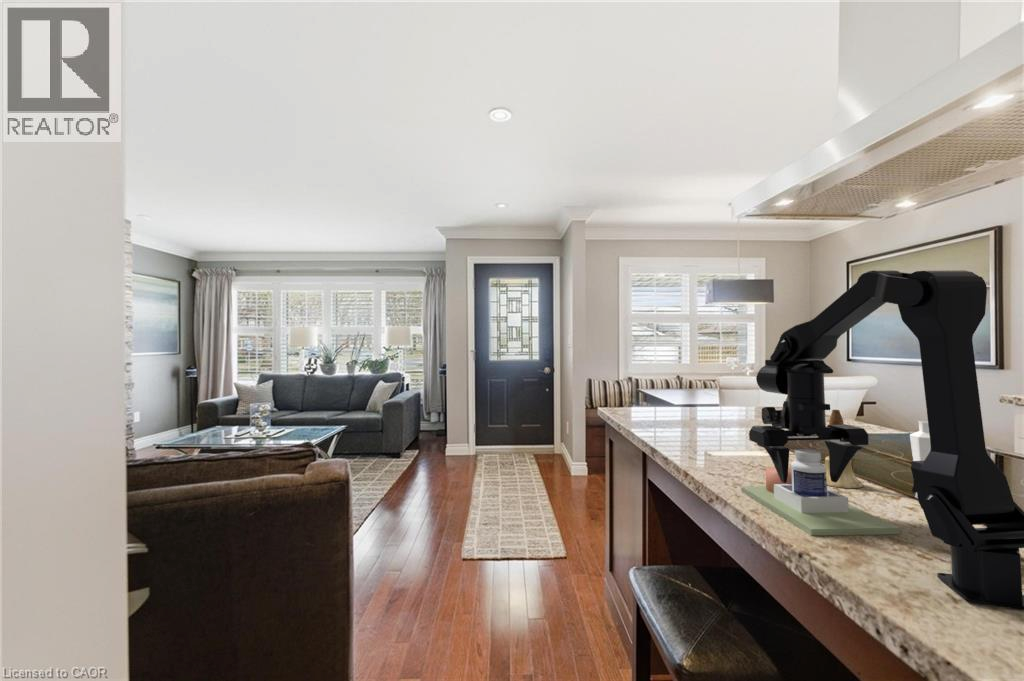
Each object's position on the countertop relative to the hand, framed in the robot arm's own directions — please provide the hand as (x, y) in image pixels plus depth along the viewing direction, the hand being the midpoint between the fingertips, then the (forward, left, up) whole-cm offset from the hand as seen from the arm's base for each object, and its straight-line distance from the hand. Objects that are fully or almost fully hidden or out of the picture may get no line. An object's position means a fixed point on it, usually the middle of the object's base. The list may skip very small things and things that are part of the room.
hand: (808, 482), depth 81 cm
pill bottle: (0, 0, -4) cm, 4 cm away
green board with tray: (0, 0, -5) cm, 5 cm away
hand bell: (+20, -11, -5) cm, 23 cm away
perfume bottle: (+12, -23, -5) cm, 26 cm away
